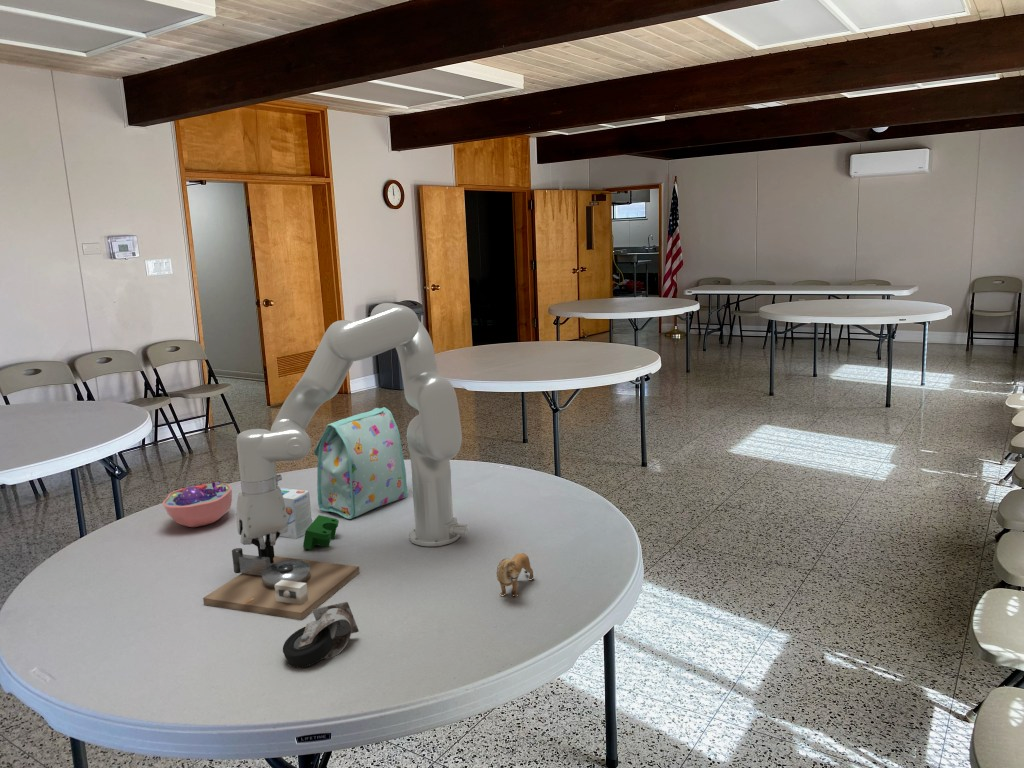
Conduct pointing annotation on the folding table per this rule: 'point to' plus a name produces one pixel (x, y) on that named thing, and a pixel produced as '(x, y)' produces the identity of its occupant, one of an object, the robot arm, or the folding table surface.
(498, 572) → the lion figurine
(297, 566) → the crank wheel
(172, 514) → the cell model
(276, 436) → the robot arm
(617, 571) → the folding table surface
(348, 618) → the caster wheel
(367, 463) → the lunch bag
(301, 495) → the light bulb box
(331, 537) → the clamp
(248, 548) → the folding table surface
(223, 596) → the stand base
